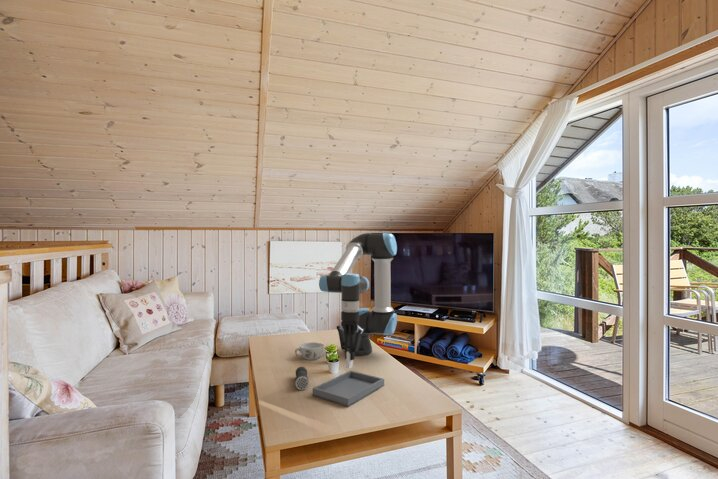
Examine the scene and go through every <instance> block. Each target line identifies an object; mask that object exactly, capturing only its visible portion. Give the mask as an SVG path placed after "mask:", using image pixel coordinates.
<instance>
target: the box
mask: <svg viewBox="0 0 718 479" xmlns="http://www.w3.org/2000/svg"><path fill="white" fill-rule="evenodd" d="M384 386H385V378H382V377H378V376H376V375H375V376H374V375H370V374H366V373H362V372H358V371H354V370H349V371H347V372H344V373H342V374H340V375H338V376H336V377H334V378H332V379H329V380H327V381H325V382H323V383H321V384H319V385H316V386H314V387H312V397H315V398H319V399H322V400H324V401H328V402H331V403H334V404H337V405H340V406H345V407H347V408H349V407H351V406H353V405H355V404H356V403H358V402H359V401H361V400H363V399H364V398H367V397H368V396H369V395H371V394H374V392H376V391H378V390H379V389H381V388H383V387H384Z"/></svg>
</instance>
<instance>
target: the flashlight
mask: <svg viewBox="0 0 718 479" xmlns="http://www.w3.org/2000/svg"><path fill="white" fill-rule="evenodd" d="M309 381H310V380H309V377H308V370H307V368H306V367H305V366H299V367H297V368H296V370H295V386H296V387H295V388H297V389H298V390H300V391H304V390H306V389H307V388H308V386H309Z"/></svg>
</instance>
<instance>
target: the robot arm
mask: <svg viewBox="0 0 718 479" xmlns="http://www.w3.org/2000/svg"><path fill="white" fill-rule="evenodd" d="M396 240H397V239H396V237H395V235H394V234H392V233H386V232H381V233H380V232H376V233H375V232H371V233H370V232H369V233H368V232H367V233H366V232H365V233H361V234H359V235H356V236H355V237H354V238H353V239H351V240H350V241H349V242H348V243H347V245H346V247H345V251H344V252H343V254H342V255H341V256H340V258H339V259H338V261H337V263H336V264H335V266H334V267H333V268H332V270H331V271H330V273H328V274H324V275H321V276H320V278H319V281H318V288H319V289H320V291H321V292H324V293H325V292H326V293H340V294H341V302H340V303H341V306H340V307H341V313H340V314H341V315H340V318H341V322H340V324H339V325H337V326H336V330H337V331H338V338H339V343H340V348H341V350H343V351H344V358H345V360H346V363H345V364H346V366H345V367H346V369H351V368H354V361H355V356H366V355H369V354H372V353H373V346H372V341H371V339H370V334H374V335H381V336H382V335H383V336H391V335H392V336H393V334H394V333H395V331H396V329H397V324H398V314H397V313H395V312H394V311H395V310H394V308H393V307H392V305H391V304H392V303H391V302H392V300H391V299H392V298H391V296H392V295H391V294H392V293H391V291H392V289H391V287H392V286H391V283H392V280H391V279H392V278H391V275H392V274H391V262H392V261H393V260H394V256H396V255H397V252H398V245H397V241H396ZM363 256H371V257H370V259H371V260H372V261H373V262H374V266H373V267H374V269H373V272H374V306H373V308H371V311H370V308H369V307H361V308H360V294H364V293H365V292H367V291H368V290H369V288H370V281H369V279H368V278H367V277H365V275H364V276H363V275H360V274H358V273H351V270H352V269H353V267H354V266H355V264H356V262H357V261H358V259H361V258H362V257H363Z"/></svg>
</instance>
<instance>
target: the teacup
mask: <svg viewBox="0 0 718 479" xmlns="http://www.w3.org/2000/svg"><path fill="white" fill-rule="evenodd" d="M324 347H325V344H323V343H319V342H304V343H301V344H300V345H299V347H297V348H296V349H295V350H294V354H295V355H296V357H300V358H303V359H304V360H306V361H307V360H308V361H309V360H310V361H312V360H318V359H320V357H321V356H322V354H323V351H324ZM298 351H299V352H300V355H299V354H297V352H298Z"/></svg>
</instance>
